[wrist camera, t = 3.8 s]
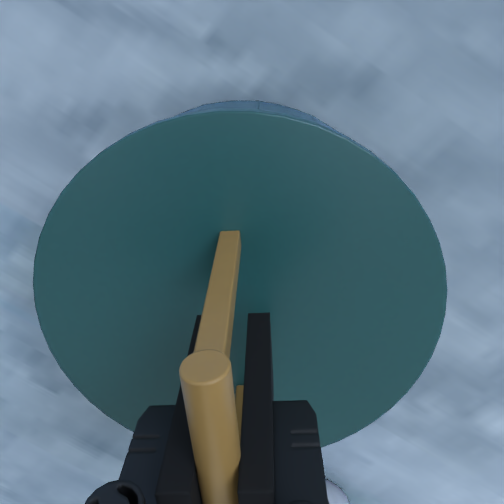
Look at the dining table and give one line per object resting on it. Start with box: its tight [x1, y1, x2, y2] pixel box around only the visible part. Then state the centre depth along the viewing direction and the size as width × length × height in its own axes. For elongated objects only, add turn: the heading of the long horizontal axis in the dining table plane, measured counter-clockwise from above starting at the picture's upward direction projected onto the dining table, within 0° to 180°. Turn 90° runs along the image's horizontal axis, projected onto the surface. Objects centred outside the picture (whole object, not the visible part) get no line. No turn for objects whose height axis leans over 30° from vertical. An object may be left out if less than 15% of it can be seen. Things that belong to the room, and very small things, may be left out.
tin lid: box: [33, 108, 447, 504], centre depth 14 cm, size 16×16×9 cm
